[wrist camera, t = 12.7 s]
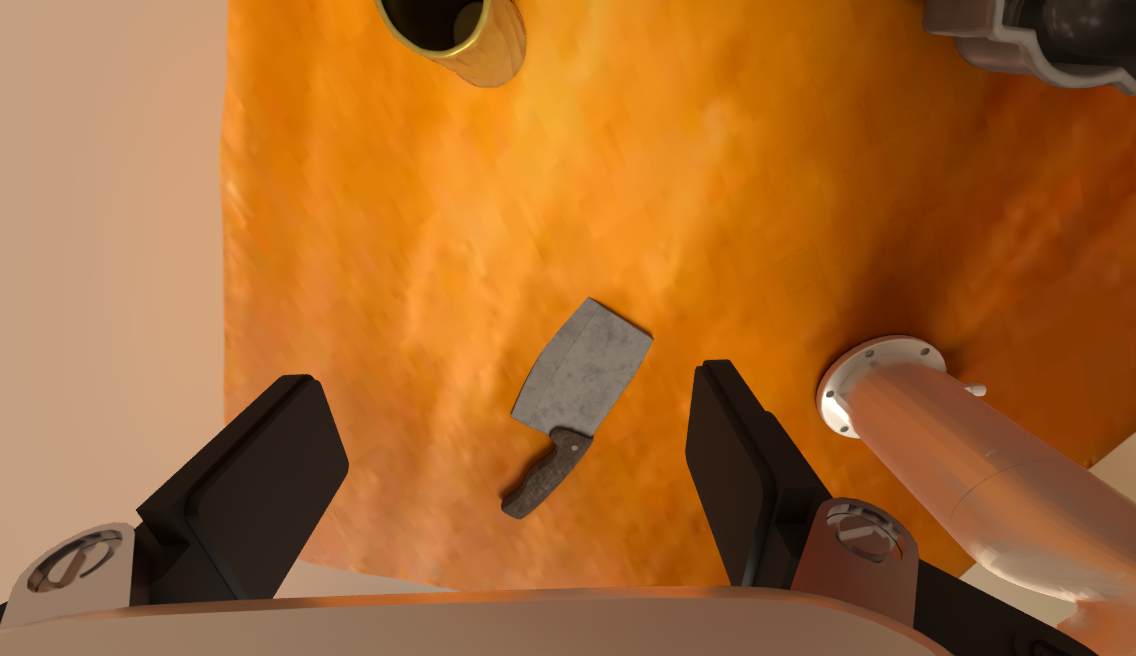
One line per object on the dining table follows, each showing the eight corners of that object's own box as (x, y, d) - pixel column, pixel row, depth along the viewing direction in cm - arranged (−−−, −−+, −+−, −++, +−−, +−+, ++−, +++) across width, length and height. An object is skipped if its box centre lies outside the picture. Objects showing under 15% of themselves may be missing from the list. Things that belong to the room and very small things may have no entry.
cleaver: (539, 514, 53) (539, 528, 51) (467, 490, 51) (463, 504, 49) (660, 326, 42) (665, 336, 40) (573, 286, 40) (573, 294, 38)
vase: (467, 102, 32) (406, 92, 20) (426, 11, 30) (325, -68, 17) (540, 67, 31) (525, 33, 19) (504, -30, 29) (458, -146, 16)
